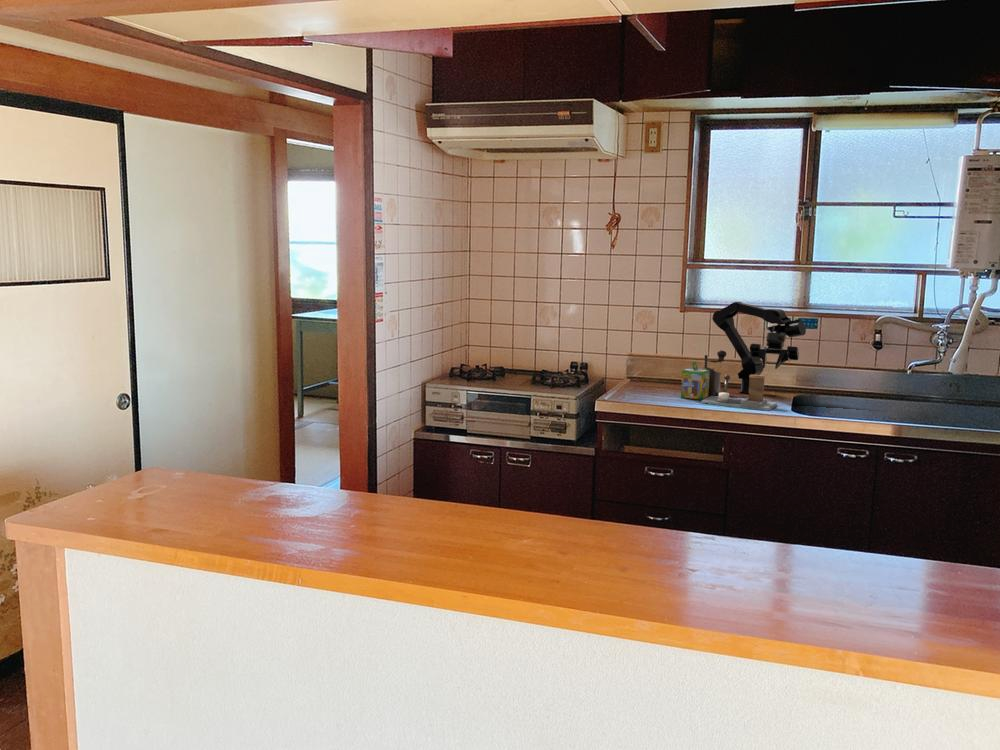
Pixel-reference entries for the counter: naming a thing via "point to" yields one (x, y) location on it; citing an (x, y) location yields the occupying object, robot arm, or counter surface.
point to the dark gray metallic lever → (726, 383)
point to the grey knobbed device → (714, 374)
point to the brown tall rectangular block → (756, 388)
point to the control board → (713, 401)
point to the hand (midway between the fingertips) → (769, 367)
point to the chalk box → (695, 383)
